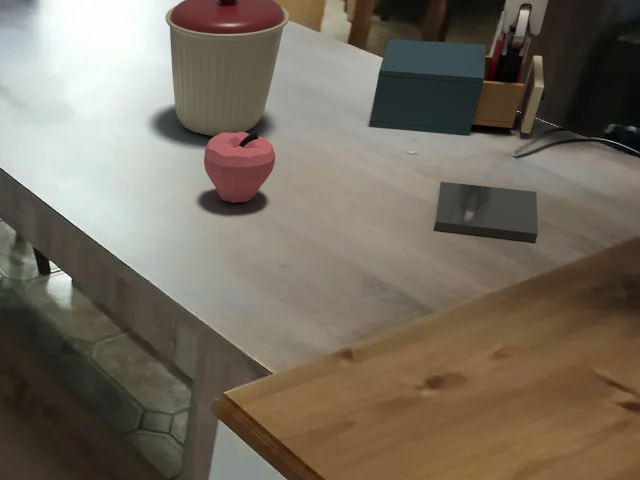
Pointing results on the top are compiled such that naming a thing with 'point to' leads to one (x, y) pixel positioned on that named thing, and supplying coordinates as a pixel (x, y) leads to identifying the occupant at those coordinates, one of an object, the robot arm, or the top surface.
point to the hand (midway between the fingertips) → (504, 73)
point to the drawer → (510, 99)
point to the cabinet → (428, 86)
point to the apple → (238, 164)
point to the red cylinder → (499, 50)
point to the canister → (223, 61)
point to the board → (487, 211)
